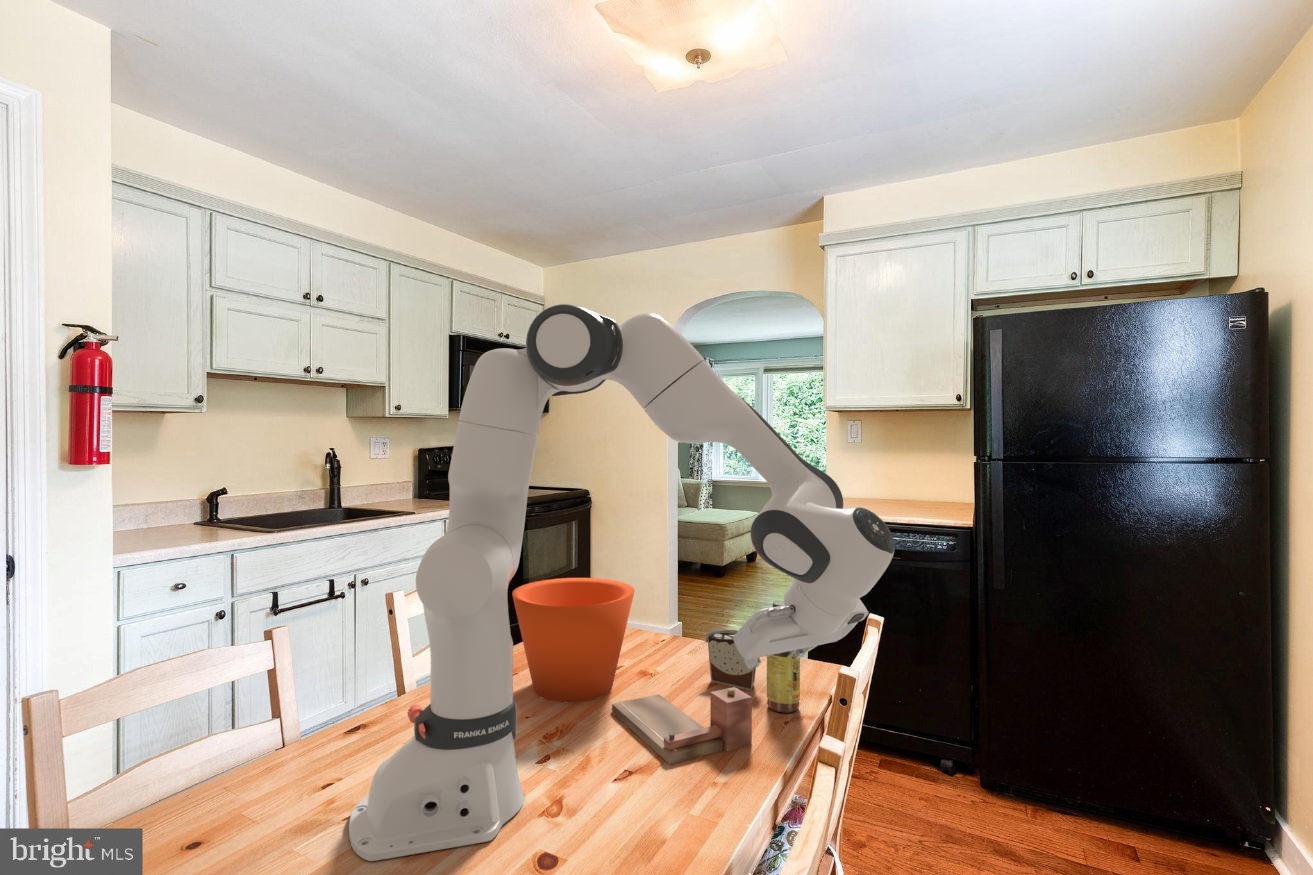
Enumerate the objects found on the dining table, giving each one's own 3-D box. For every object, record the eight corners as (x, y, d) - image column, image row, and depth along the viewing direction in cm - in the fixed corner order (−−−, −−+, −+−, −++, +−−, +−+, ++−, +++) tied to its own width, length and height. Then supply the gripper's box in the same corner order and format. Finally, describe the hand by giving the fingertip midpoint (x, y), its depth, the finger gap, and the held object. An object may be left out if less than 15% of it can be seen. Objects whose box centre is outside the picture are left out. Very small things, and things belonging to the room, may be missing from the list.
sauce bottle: (800, 715, 119) (800, 608, 119) (765, 712, 120) (766, 606, 121) (799, 701, 126) (800, 600, 126) (767, 699, 127) (767, 598, 127)
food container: (770, 682, 136) (770, 635, 136) (758, 692, 130) (758, 642, 130) (717, 671, 142) (718, 625, 142) (704, 679, 137) (705, 632, 137)
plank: (669, 764, 101) (669, 754, 101) (612, 711, 120) (612, 703, 120) (722, 750, 106) (722, 740, 106) (659, 701, 125) (659, 693, 125)
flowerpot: (602, 720, 117) (603, 611, 117) (486, 700, 125) (487, 599, 125) (651, 674, 140) (651, 583, 140) (550, 659, 149) (550, 574, 149)
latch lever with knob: (674, 765, 101) (674, 709, 101) (658, 751, 105) (659, 698, 105) (751, 744, 108) (751, 692, 108) (734, 732, 112) (734, 682, 112)
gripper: (773, 631, 85) (730, 690, 92) (876, 612, 96) (830, 666, 103) (750, 593, 89) (710, 652, 96) (851, 579, 100) (808, 633, 107)
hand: (773, 659), depth 100 cm, fingers open, 8 cm apart
